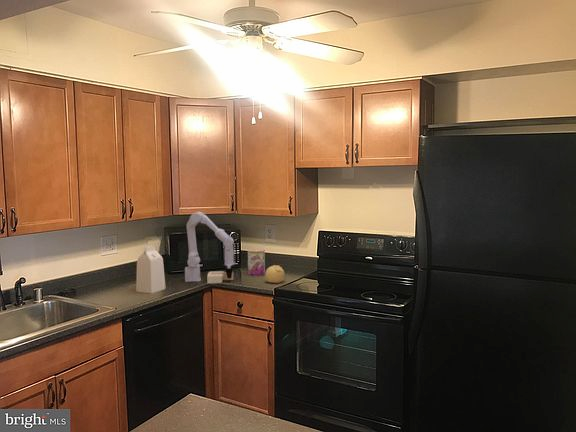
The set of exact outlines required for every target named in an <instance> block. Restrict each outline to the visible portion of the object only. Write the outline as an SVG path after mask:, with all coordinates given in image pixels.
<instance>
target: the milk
mask: <svg viewBox="0 0 576 432" xmlns="http://www.w3.org/2000/svg"><path fill="white" fill-rule="evenodd" d="M155 248H156V247H155V246H154V245H149V246H145V247H144V250H143V253H142V254H141V255H140V256H139V257H138V258H137V260H136V285H135V286H136V287H135V288H136V289H135V292H137V293H138V292H139V293H145V294H154V293H157V292H160V291H163V290H165V289H166V279H165V267H164V258H163V256H162V255H161V254H160V253H159V252H158V251H157V250H156V249H155Z"/></svg>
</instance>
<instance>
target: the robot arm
mask: <svg viewBox="0 0 576 432" xmlns="http://www.w3.org/2000/svg"><path fill="white" fill-rule="evenodd" d="M199 223H200V224H204V225H206V226H207V227H209V229H210V230H212V232H214V236H216V237H217V239H218V240H220V242H221V243H223V247H224V249H223V250H224V271H225V272H226V273H227V277H228V279H229V278H231V276H232V272H234V268H235V265H236V264H237V263H236V262H234V257H235V256H234V253H235V252H234V243H235V241H234V238H233V236H231V235H229V234H228V233H227V232H225V229H222V228H219V227H217V225H216V224H215V223H214V221H212V220H211V219H210V218H209V217H208V216H207V215H206V214H205V213H204V212H202V211H196V212H193V213H192V214H191V215H190V216H189V219H188V221H187V222H186V234H187V243H188V255H187V257H188V259H187V265H188V266H185V268H184V281H185V283H187V282H190V283H191V282H201V280H202V277H201V266H200V263H201V258H200V256H199V252H198V248H197V247H198V246H197V245H198V244H197V237H196V226H197V225H198V224H199Z"/></svg>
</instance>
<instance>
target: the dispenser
mask: <svg viewBox="0 0 576 432" xmlns="http://www.w3.org/2000/svg"><path fill="white" fill-rule="evenodd" d="M213 272H214V271H208V273H207V278H206V279H207V280H206V281H207V283H206V284H223V280H222V277H223V274H211V273H213ZM215 272H225V270H224V271H223V270H219V271H215Z"/></svg>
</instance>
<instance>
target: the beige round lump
mask: <svg viewBox="0 0 576 432" xmlns="http://www.w3.org/2000/svg"><path fill="white" fill-rule="evenodd" d="M264 275H265V280H266V281H267V282H268V283H272V284H280V283H282V282H283V280H284V278H285V271H284V269H283V268H282V266H280V265H276V264H273V265H272V266H269V267H268V268H267V269H265V274H264Z"/></svg>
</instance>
